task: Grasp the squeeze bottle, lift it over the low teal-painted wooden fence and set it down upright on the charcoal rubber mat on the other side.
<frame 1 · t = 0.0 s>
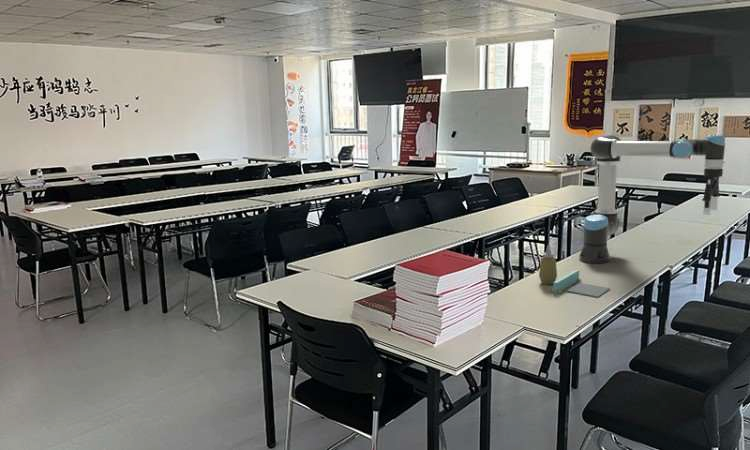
hand: (710, 212, 266), 28 cm above the table, fingers open, 13 cm apart
fence: (566, 286, 254), on the table
squeeze bottle: (547, 283, 260), on the table
mat: (588, 290, 247), on the table
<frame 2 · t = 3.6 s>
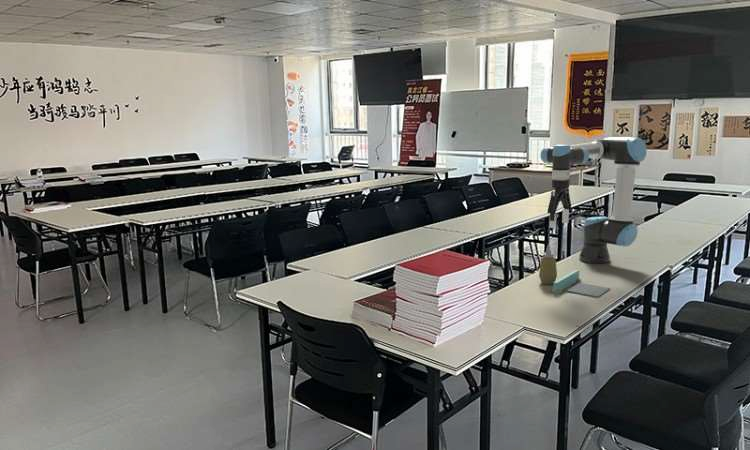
hand: (559, 225, 255), 27 cm above the table, fingers open, 13 cm apart
nothing on the table moved.
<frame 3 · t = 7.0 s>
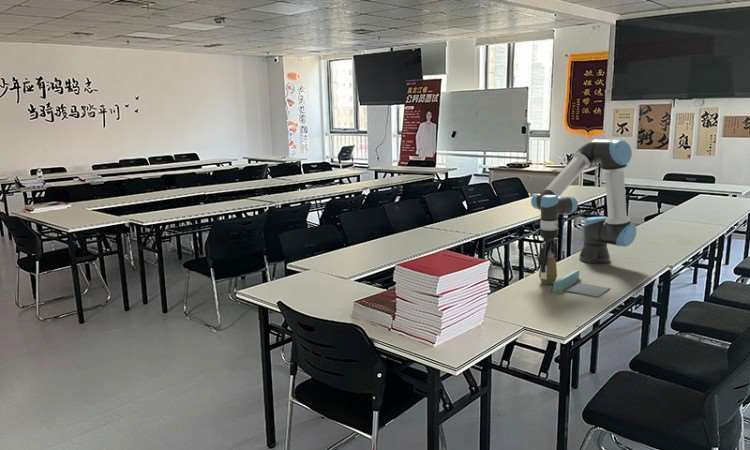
hand: (548, 276, 259), 3 cm above the table, fingers closed on squeeze bottle, 8 cm apart
squeeze bottle: (547, 283, 260), on the table, touching gripper
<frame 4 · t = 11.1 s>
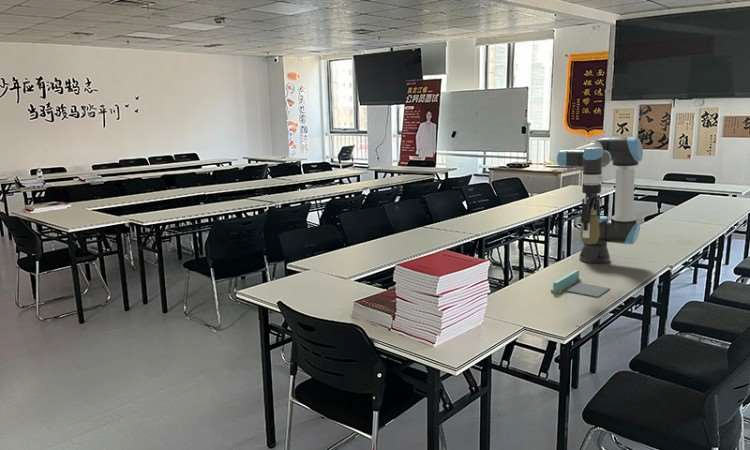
hand: (589, 235, 242), 25 cm above the table, fingers closed on squeeze bottle, 8 cm apart
squeeze bottle: (589, 243, 243), point 22 cm above the table, touching gripper
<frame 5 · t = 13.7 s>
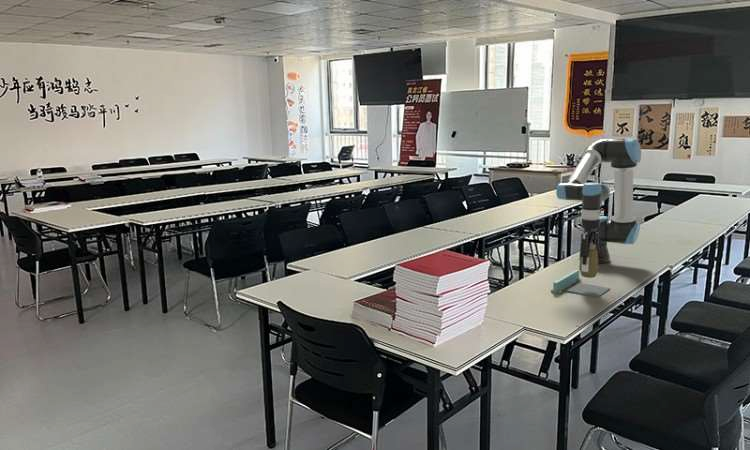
hand: (588, 269, 245), 10 cm above the table, fingers closed on squeeze bottle, 8 cm apart
squeeze bottle: (588, 276, 246), point 6 cm above the table, touching gripper
when the fingers open (5 cm above the table, at t = 15.6 s): squeeze bottle drops 1 cm, resting on mat.
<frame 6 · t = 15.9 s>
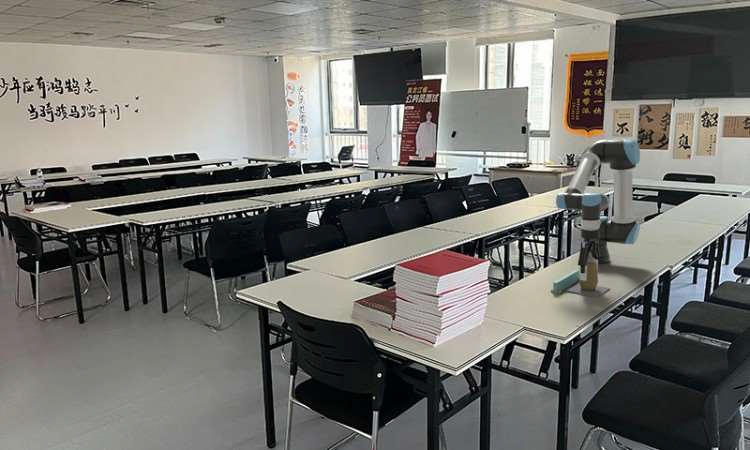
hand: (588, 276, 246), 6 cm above the table, fingers open, 11 cm apart
squeeze bottle: (588, 289, 247), resting on mat
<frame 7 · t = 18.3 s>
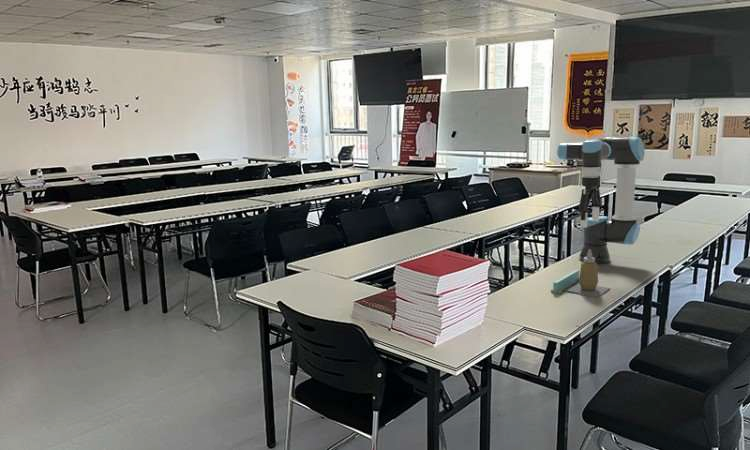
hand: (589, 224, 245), 29 cm above the table, fingers open, 13 cm apart
nothing on the table moved.
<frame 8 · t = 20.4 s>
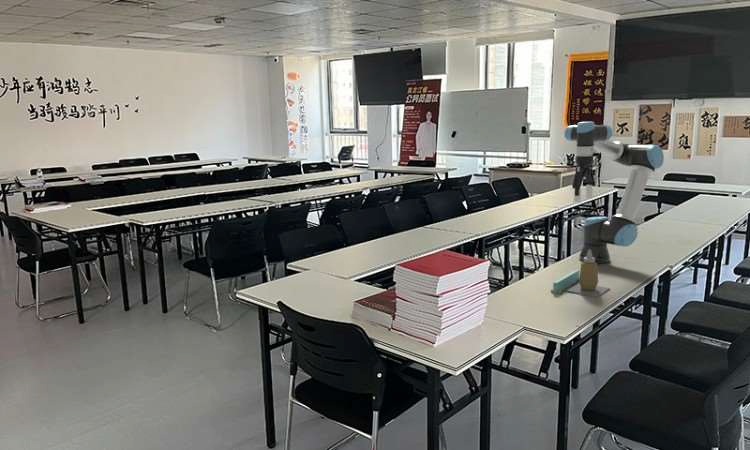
hand: (583, 200, 263), 37 cm above the table, fingers open, 13 cm apart
nothing on the table moved.
at the end: squeeze bottle inside the target area on the mat (0.1 cm from its centre), point 0.4 cm above the mat's base; squeeze bottle tilted 0°; the gripper is holding nothing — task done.
